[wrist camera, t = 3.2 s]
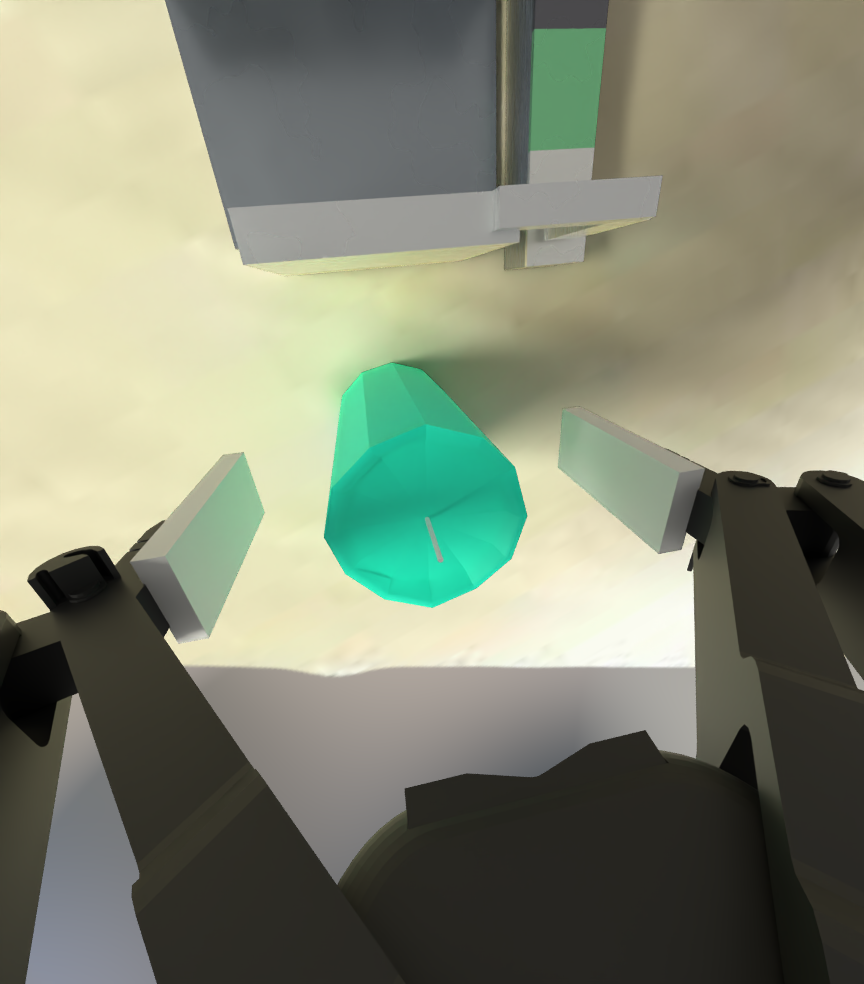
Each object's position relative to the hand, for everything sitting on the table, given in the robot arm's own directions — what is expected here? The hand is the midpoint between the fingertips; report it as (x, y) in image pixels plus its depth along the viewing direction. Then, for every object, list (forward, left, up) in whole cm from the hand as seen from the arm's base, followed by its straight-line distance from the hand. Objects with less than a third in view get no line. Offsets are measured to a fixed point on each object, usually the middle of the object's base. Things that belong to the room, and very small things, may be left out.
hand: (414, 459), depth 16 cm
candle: (0, 0, -5) cm, 5 cm away
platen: (+2, +8, -5) cm, 9 cm away
